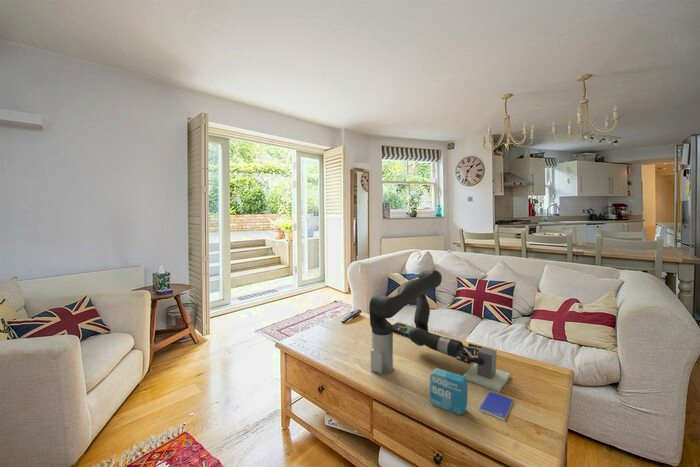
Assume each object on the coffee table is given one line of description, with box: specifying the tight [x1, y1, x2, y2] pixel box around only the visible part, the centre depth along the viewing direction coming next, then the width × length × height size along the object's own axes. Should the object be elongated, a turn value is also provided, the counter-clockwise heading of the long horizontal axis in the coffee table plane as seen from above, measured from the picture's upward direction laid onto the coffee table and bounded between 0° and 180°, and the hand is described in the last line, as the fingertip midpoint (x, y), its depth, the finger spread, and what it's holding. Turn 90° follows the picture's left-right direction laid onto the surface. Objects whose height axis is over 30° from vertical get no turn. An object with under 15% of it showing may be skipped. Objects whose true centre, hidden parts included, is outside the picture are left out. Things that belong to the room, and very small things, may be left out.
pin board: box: [462, 363, 511, 393], centre depth 125 cm, size 14×14×4 cm
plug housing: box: [477, 346, 497, 379], centre depth 125 cm, size 6×6×10 cm
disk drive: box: [392, 322, 416, 339], centre depth 174 cm, size 10×3×15 cm
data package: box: [429, 368, 468, 416], centre depth 107 cm, size 12×4×12 cm, turn 54°
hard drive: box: [479, 391, 514, 421], centre depth 107 cm, size 2×8×12 cm
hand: (487, 358), depth 124 cm, fingers open, 8 cm apart
